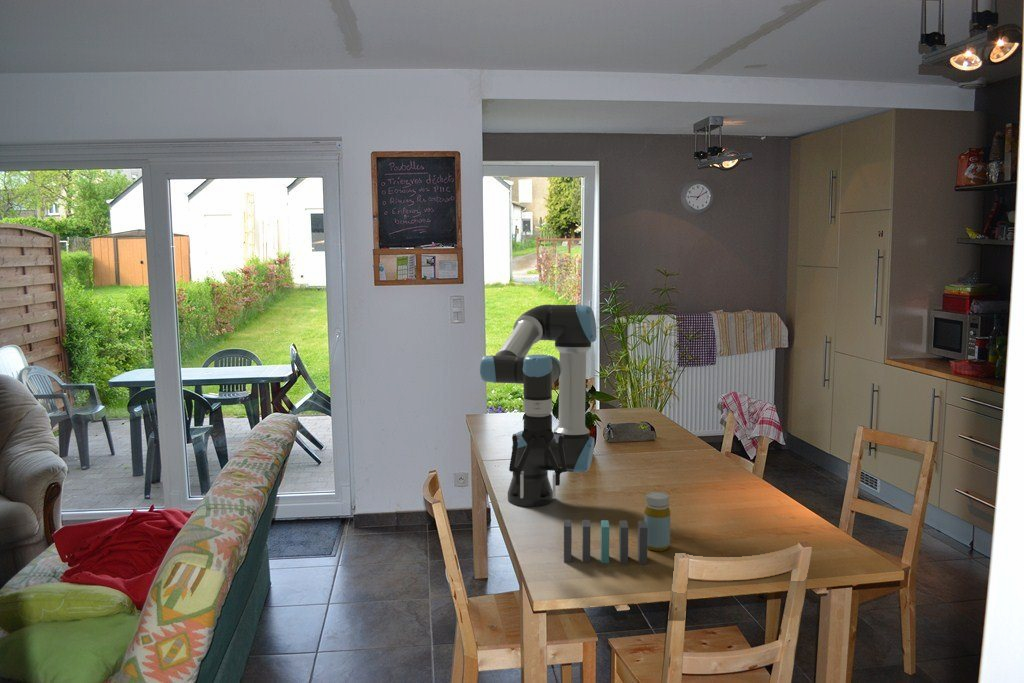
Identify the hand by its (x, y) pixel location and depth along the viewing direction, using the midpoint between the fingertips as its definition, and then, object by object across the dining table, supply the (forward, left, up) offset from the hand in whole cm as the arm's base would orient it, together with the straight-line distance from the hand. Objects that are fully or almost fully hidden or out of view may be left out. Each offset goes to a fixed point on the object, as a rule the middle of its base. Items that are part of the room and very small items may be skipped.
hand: (538, 496), depth 205 cm
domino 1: (0, +8, -17) cm, 19 cm away
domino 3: (0, +18, -17) cm, 25 cm away
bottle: (-9, +33, -17) cm, 38 cm away
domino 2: (0, +13, -17) cm, 22 cm away
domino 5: (0, +28, -17) cm, 33 cm away
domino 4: (0, +23, -17) cm, 29 cm away
